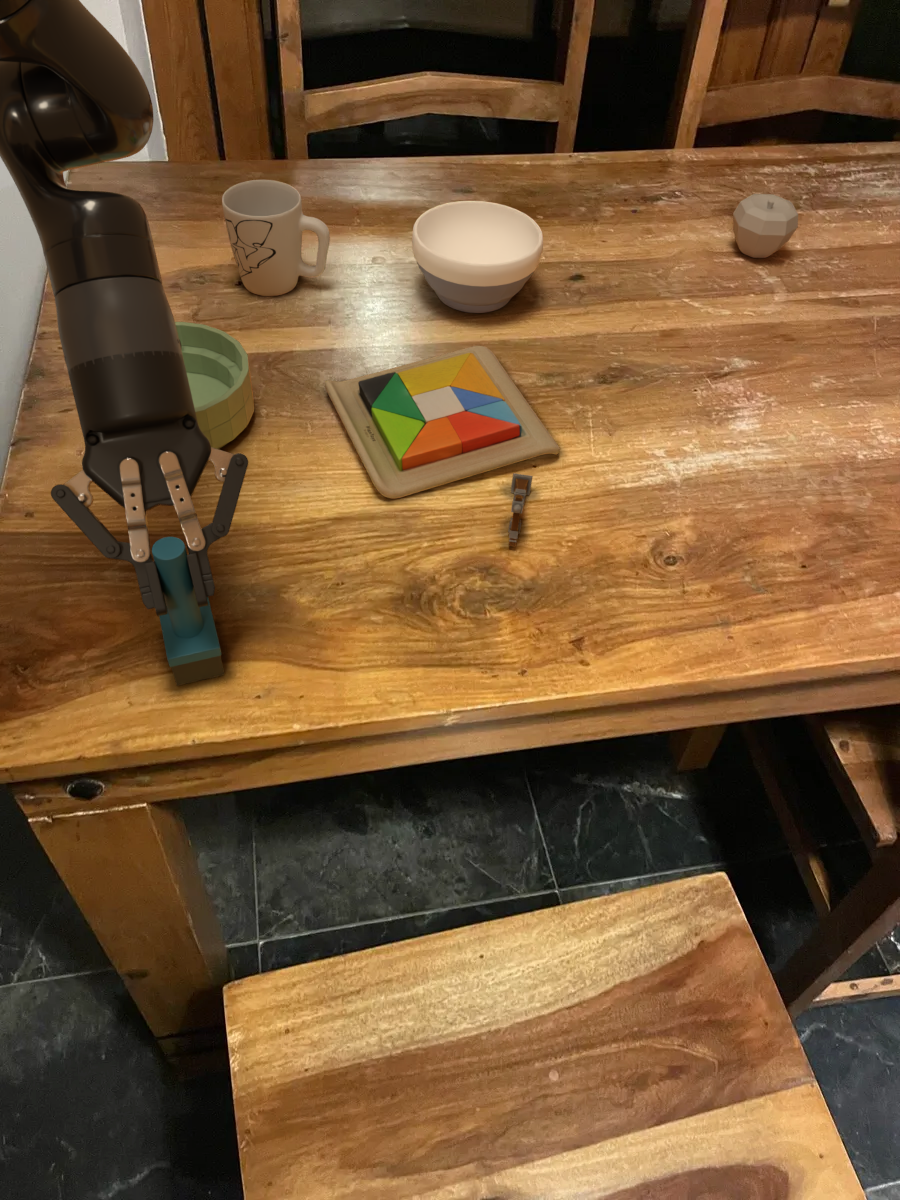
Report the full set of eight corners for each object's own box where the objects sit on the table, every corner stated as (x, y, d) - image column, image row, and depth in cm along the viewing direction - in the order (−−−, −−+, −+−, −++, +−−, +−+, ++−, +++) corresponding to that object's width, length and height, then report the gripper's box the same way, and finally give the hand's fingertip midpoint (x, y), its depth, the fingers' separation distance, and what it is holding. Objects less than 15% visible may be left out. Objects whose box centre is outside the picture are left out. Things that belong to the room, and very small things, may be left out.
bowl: (448, 248, 114) (451, 187, 108) (556, 284, 110) (565, 222, 104) (387, 304, 106) (387, 240, 100) (501, 344, 102) (508, 280, 96)
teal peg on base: (226, 675, 71) (203, 569, 62) (175, 687, 70) (144, 581, 61) (214, 624, 74) (190, 516, 65) (165, 635, 73) (134, 527, 64)
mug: (340, 271, 110) (336, 187, 102) (323, 310, 104) (318, 225, 97) (245, 259, 110) (235, 175, 103) (223, 297, 105) (210, 211, 97)
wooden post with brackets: (500, 548, 80) (507, 498, 78) (506, 517, 87) (513, 471, 86) (521, 551, 80) (529, 502, 78) (525, 519, 87) (533, 473, 85)
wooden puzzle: (321, 392, 95) (319, 362, 92) (491, 358, 100) (494, 329, 97) (377, 505, 84) (377, 476, 82) (563, 460, 90) (569, 432, 87)
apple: (748, 272, 114) (764, 221, 109) (711, 241, 119) (725, 190, 114) (800, 261, 116) (818, 210, 112) (762, 231, 121) (778, 181, 116)
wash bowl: (158, 492, 84) (145, 440, 80) (68, 415, 90) (51, 363, 86) (286, 421, 91) (281, 370, 87) (195, 355, 98) (185, 304, 93)
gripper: (5, 365, 58) (72, 637, 60) (230, 333, 61) (287, 591, 63) (26, 385, 65) (85, 627, 67) (226, 355, 68) (277, 586, 70)
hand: (183, 608), depth 65 cm, fingers closed on teal peg on base, 2 cm apart
